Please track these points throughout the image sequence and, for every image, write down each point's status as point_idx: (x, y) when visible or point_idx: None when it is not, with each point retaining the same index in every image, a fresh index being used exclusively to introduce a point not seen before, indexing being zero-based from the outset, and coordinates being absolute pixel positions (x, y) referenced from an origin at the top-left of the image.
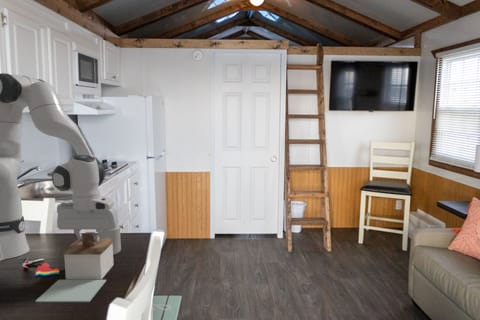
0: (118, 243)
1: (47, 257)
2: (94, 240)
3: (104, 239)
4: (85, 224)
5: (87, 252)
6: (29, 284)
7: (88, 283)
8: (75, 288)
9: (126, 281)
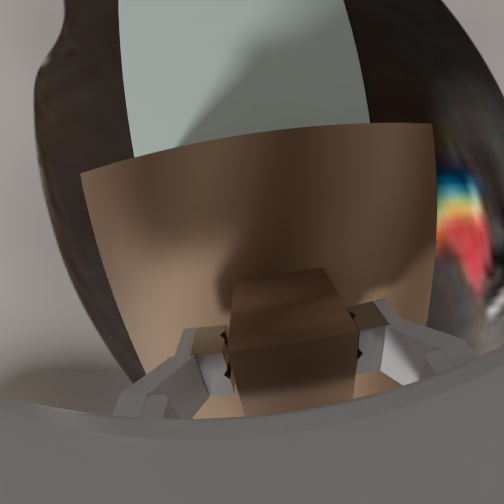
0: None
1: (481, 325)
2: (213, 328)
3: (223, 409)
4: (332, 485)
5: (196, 143)
6: (452, 97)
7: (196, 102)
8: (231, 48)
9: (60, 175)
